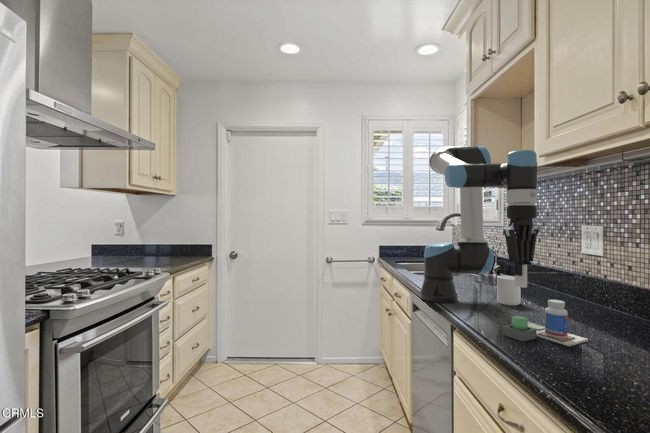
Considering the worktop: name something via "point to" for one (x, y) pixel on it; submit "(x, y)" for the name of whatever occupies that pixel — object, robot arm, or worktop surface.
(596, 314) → the worktop surface
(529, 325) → the white rectangular board
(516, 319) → the button
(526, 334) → the button frame
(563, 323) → the pill bottle
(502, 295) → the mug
